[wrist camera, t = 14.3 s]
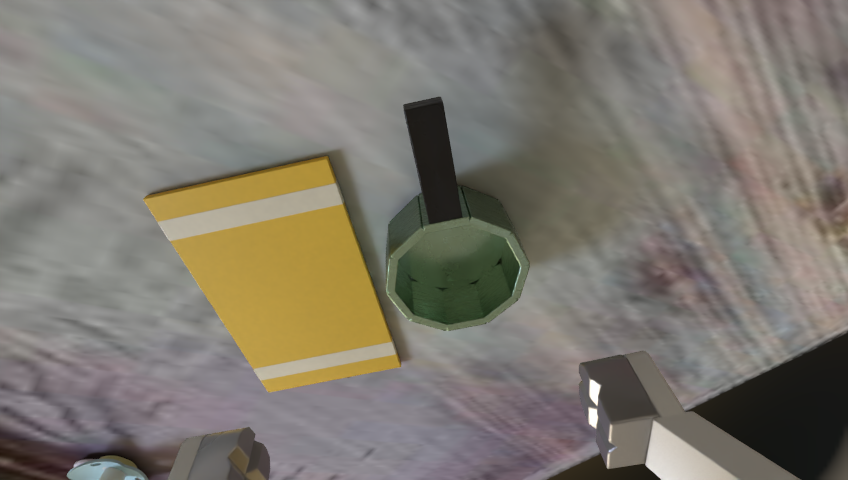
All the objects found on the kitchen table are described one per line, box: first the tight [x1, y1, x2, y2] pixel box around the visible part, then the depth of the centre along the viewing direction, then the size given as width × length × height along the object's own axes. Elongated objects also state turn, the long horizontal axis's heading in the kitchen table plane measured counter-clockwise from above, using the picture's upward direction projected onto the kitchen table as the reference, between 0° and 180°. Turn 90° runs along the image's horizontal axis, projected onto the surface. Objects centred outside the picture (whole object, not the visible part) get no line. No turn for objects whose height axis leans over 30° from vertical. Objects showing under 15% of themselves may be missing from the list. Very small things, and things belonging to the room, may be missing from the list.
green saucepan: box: [386, 97, 530, 331], centre depth 29 cm, size 16×9×4 cm, turn 11°
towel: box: [143, 156, 401, 392], centre depth 34 cm, size 20×12×1 cm, turn 11°
